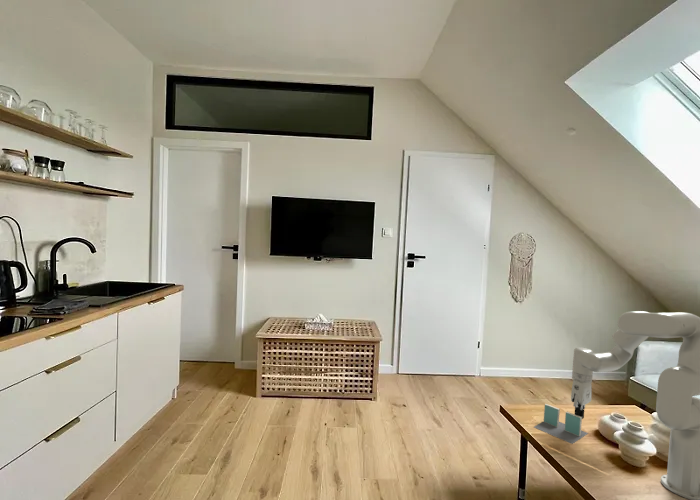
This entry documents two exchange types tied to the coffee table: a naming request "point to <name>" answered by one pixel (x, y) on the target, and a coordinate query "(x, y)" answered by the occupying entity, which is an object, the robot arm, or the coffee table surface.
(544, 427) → the mat
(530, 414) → the coffee table surface
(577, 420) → the tile
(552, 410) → the tile
